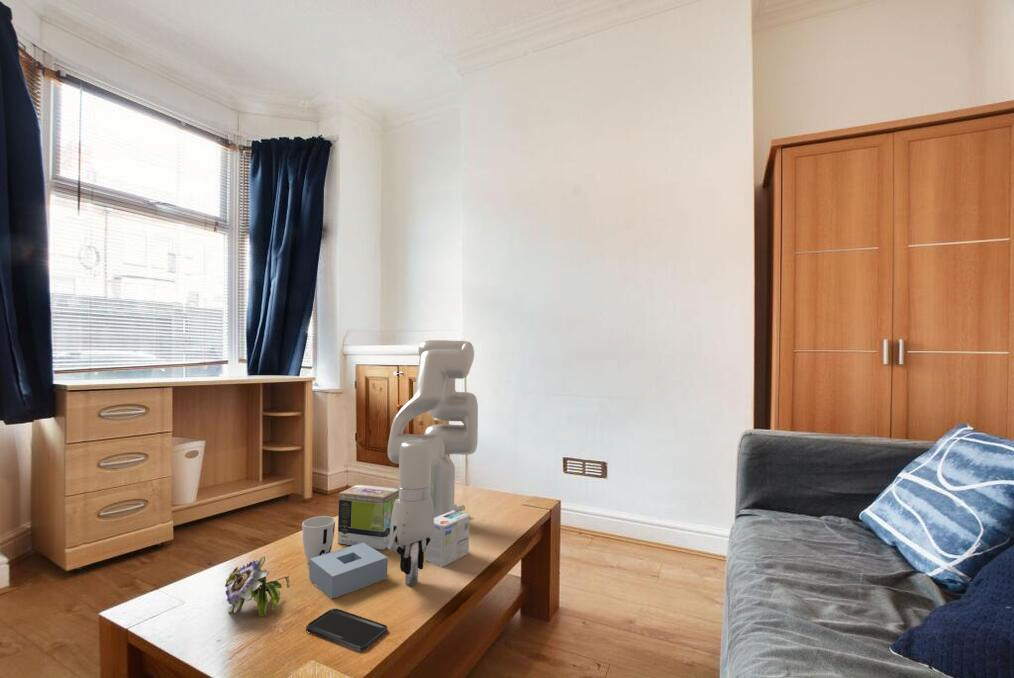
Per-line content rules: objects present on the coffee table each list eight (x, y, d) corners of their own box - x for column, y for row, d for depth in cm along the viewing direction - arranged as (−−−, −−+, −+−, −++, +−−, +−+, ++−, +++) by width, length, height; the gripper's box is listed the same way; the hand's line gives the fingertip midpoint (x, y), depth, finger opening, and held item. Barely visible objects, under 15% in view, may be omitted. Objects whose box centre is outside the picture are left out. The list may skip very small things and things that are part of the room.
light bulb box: (451, 547, 130) (452, 509, 131) (469, 553, 127) (470, 514, 127) (424, 560, 122) (425, 519, 122) (443, 568, 118) (444, 525, 118)
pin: (413, 578, 112) (414, 537, 112) (420, 582, 110) (421, 540, 110) (402, 582, 110) (403, 540, 110) (409, 587, 108) (411, 544, 108)
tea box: (400, 537, 136) (402, 487, 137) (382, 551, 127) (384, 497, 127) (356, 531, 141) (358, 482, 141) (336, 544, 131) (337, 492, 131)
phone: (333, 607, 97) (389, 626, 91) (333, 612, 97) (389, 632, 91) (303, 627, 90) (362, 649, 84) (302, 632, 90) (361, 655, 84)
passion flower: (232, 638, 96) (210, 585, 99) (282, 605, 105) (260, 557, 108) (250, 625, 90) (225, 569, 93) (301, 592, 99) (277, 542, 102)
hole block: (362, 561, 120) (363, 542, 120) (387, 578, 112) (387, 557, 112) (309, 579, 110) (309, 558, 110) (331, 599, 102) (332, 576, 102)
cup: (322, 568, 116) (323, 528, 116) (294, 564, 118) (295, 525, 118) (340, 554, 124) (341, 517, 124) (313, 551, 126) (314, 514, 126)
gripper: (432, 483, 119) (430, 554, 119) (375, 496, 107) (373, 575, 107) (450, 489, 114) (448, 564, 113) (393, 504, 102) (390, 587, 102)
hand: (411, 569), depth 110 cm, fingers closed on pin, 3 cm apart
